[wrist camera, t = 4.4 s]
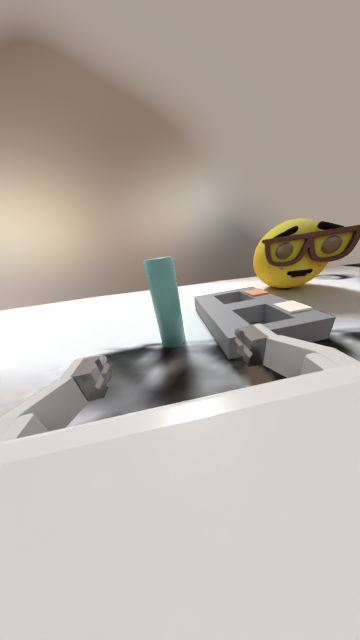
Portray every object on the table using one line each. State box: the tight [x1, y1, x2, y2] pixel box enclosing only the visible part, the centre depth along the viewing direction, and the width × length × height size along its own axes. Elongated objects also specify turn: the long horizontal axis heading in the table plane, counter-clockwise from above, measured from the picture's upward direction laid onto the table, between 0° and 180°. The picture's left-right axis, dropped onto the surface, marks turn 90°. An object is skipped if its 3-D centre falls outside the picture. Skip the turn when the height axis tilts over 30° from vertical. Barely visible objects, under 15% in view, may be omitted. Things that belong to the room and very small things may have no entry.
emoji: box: [253, 218, 360, 288], centre depth 35 cm, size 16×16×15 cm
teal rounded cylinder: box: [143, 256, 185, 348], centre depth 20 cm, size 4×4×12 cm
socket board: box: [195, 287, 336, 359], centre depth 25 cm, size 13×17×3 cm
